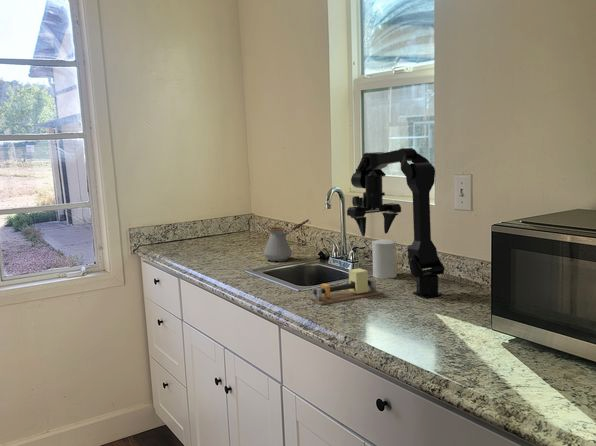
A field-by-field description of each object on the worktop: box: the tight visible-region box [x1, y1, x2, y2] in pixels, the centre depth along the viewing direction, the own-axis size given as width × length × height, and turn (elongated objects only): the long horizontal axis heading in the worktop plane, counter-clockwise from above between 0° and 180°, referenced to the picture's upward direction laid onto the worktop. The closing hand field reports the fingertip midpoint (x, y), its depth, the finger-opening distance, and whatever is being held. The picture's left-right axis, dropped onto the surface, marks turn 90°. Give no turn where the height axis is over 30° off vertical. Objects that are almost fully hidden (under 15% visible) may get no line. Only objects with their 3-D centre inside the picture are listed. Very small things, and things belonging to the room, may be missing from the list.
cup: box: [371, 239, 398, 280], centre depth 198 cm, size 8×8×12 cm
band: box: [320, 283, 331, 297], centre depth 171 cm, size 3×1×3 cm, turn 26°
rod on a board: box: [307, 277, 382, 306], centre depth 174 cm, size 8×21×4 cm, turn 116°
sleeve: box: [348, 267, 369, 294], centre depth 176 cm, size 4×4×7 cm
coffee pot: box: [263, 219, 312, 262], centre depth 233 cm, size 21×12×15 cm, turn 119°
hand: (374, 234), depth 196 cm, fingers open, 9 cm apart
